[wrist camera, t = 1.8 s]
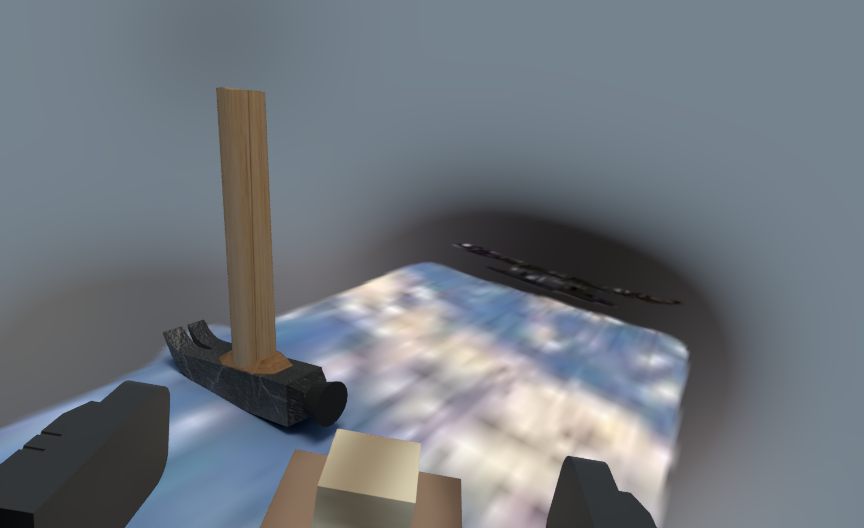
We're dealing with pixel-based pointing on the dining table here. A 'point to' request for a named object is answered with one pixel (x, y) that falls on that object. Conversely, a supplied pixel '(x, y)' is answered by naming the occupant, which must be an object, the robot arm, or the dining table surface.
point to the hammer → (251, 290)
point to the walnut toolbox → (297, 490)
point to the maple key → (367, 482)
